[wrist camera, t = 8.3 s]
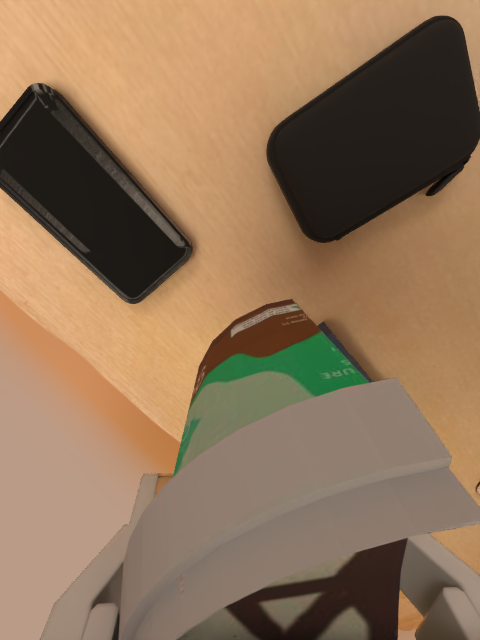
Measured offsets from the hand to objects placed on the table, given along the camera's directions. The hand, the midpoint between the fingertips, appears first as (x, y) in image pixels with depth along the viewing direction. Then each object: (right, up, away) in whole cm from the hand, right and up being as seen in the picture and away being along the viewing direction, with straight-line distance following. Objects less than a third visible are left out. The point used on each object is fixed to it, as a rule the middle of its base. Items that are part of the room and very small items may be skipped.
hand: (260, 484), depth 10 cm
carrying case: (+9, +19, +13) cm, 25 cm away
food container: (-1, +2, +5) cm, 5 cm away
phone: (-12, +15, +13) cm, 23 cm away
